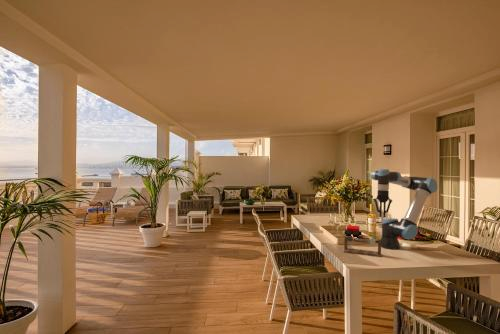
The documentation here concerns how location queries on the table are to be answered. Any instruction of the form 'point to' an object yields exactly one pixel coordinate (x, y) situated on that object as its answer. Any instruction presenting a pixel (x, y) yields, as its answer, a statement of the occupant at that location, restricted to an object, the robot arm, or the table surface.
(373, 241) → the cream t-shaped block
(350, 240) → the rod
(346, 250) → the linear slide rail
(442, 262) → the table surface
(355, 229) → the red-and-black block model
